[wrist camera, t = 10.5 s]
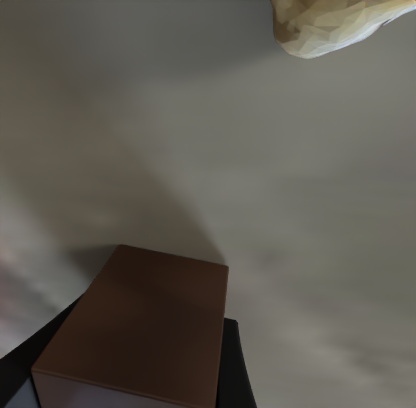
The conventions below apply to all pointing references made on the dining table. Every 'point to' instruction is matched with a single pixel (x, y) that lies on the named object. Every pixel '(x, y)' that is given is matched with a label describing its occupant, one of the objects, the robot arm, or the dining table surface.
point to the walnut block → (139, 336)
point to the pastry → (330, 23)
